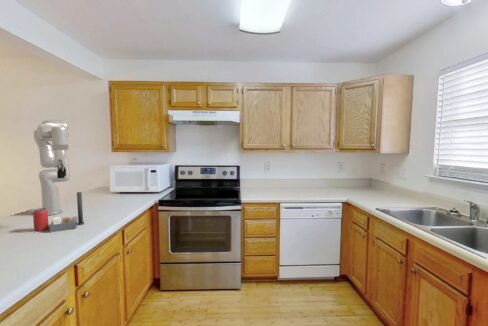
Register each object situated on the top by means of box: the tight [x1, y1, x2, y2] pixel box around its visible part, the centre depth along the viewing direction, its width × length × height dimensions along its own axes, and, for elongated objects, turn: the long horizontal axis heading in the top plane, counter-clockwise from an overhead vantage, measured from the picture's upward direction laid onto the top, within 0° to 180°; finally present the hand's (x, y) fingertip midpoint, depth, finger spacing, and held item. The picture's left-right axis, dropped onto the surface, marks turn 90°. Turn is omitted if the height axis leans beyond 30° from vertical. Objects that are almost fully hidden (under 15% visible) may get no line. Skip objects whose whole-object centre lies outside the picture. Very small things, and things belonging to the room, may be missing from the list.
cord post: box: [76, 191, 85, 226], centre depth 151 cm, size 4×4×20 cm
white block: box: [52, 216, 62, 225], centre depth 141 cm, size 4×3×3 cm
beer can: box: [32, 207, 50, 232], centre depth 141 cm, size 7×7×12 cm
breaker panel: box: [49, 215, 78, 233], centre depth 146 cm, size 12×12×6 cm
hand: (62, 177), depth 143 cm, fingers open, 9 cm apart
